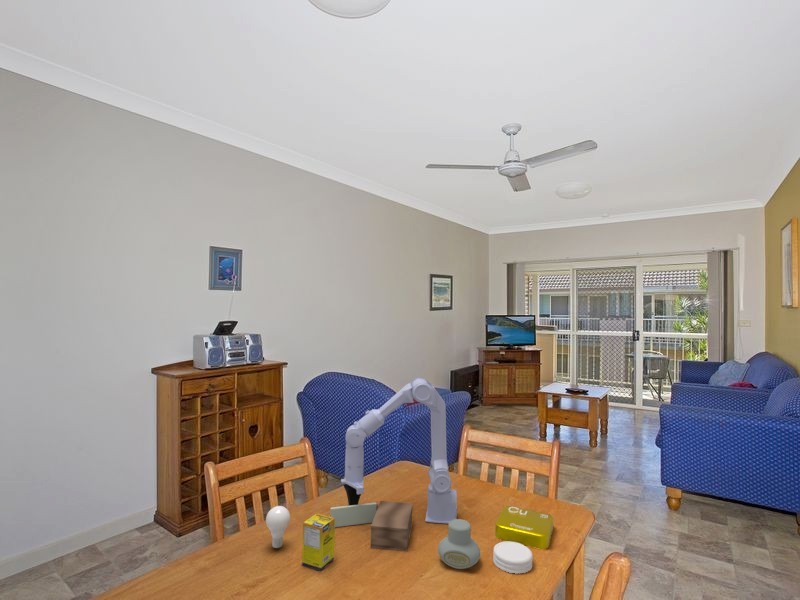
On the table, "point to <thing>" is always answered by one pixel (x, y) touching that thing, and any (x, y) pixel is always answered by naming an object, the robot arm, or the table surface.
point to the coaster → (512, 557)
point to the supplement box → (318, 541)
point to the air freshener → (459, 546)
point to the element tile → (524, 527)
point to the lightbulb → (277, 524)
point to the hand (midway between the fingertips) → (353, 508)
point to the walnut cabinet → (391, 526)
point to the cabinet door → (353, 514)
